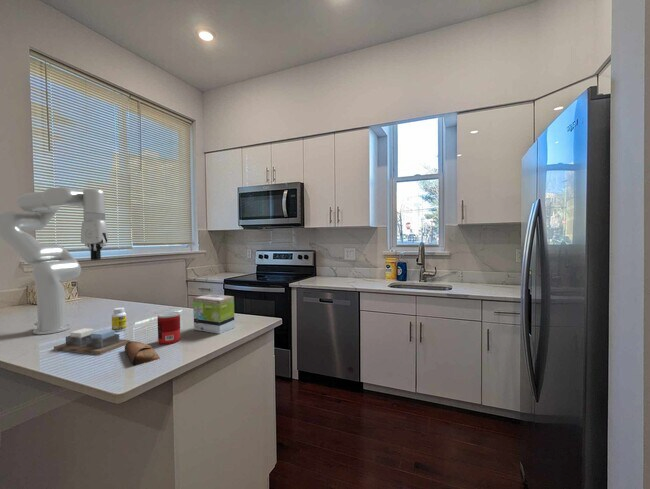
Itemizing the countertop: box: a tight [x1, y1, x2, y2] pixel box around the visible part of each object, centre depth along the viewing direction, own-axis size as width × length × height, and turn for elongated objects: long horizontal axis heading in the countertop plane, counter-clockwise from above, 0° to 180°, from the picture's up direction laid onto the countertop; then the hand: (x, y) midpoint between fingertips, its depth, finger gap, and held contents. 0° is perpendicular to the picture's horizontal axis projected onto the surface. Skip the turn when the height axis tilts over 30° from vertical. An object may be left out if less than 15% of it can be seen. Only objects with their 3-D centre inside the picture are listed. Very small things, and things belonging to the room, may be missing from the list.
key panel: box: [53, 333, 131, 356], centre depth 115 cm, size 22×12×4 cm, turn 76°
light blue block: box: [91, 329, 116, 340], centre depth 114 cm, size 5×5×4 cm
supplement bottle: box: [111, 307, 127, 333], centre depth 136 cm, size 5×5×10 cm
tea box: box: [192, 293, 235, 335], centre depth 135 cm, size 15×10×15 cm, turn 68°
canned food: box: [157, 311, 181, 346], centre depth 120 cm, size 8×8×11 cm
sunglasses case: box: [124, 340, 161, 366], centre depth 106 cm, size 18×7×7 cm
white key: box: [69, 327, 96, 338], centre depth 116 cm, size 5×5×4 cm
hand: (95, 259), depth 132 cm, fingers closed
